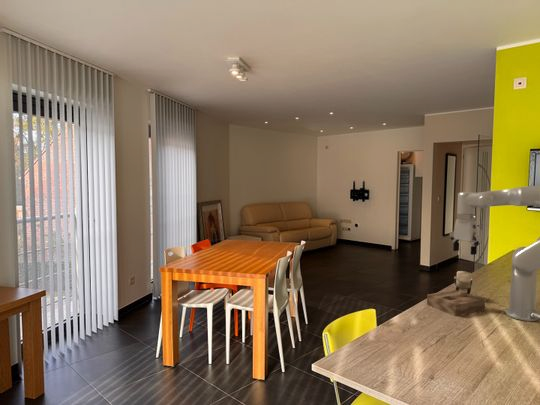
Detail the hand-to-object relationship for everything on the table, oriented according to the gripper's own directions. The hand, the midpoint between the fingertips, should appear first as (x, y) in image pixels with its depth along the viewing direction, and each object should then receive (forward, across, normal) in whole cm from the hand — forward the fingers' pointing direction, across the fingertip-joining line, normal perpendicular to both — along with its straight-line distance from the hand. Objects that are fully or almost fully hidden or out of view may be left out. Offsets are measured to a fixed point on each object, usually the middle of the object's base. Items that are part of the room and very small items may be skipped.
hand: (464, 252), depth 178 cm
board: (+26, 0, +6) cm, 27 cm away
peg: (+21, 0, +1) cm, 21 cm away
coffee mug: (+26, +10, -12) cm, 31 cm away
